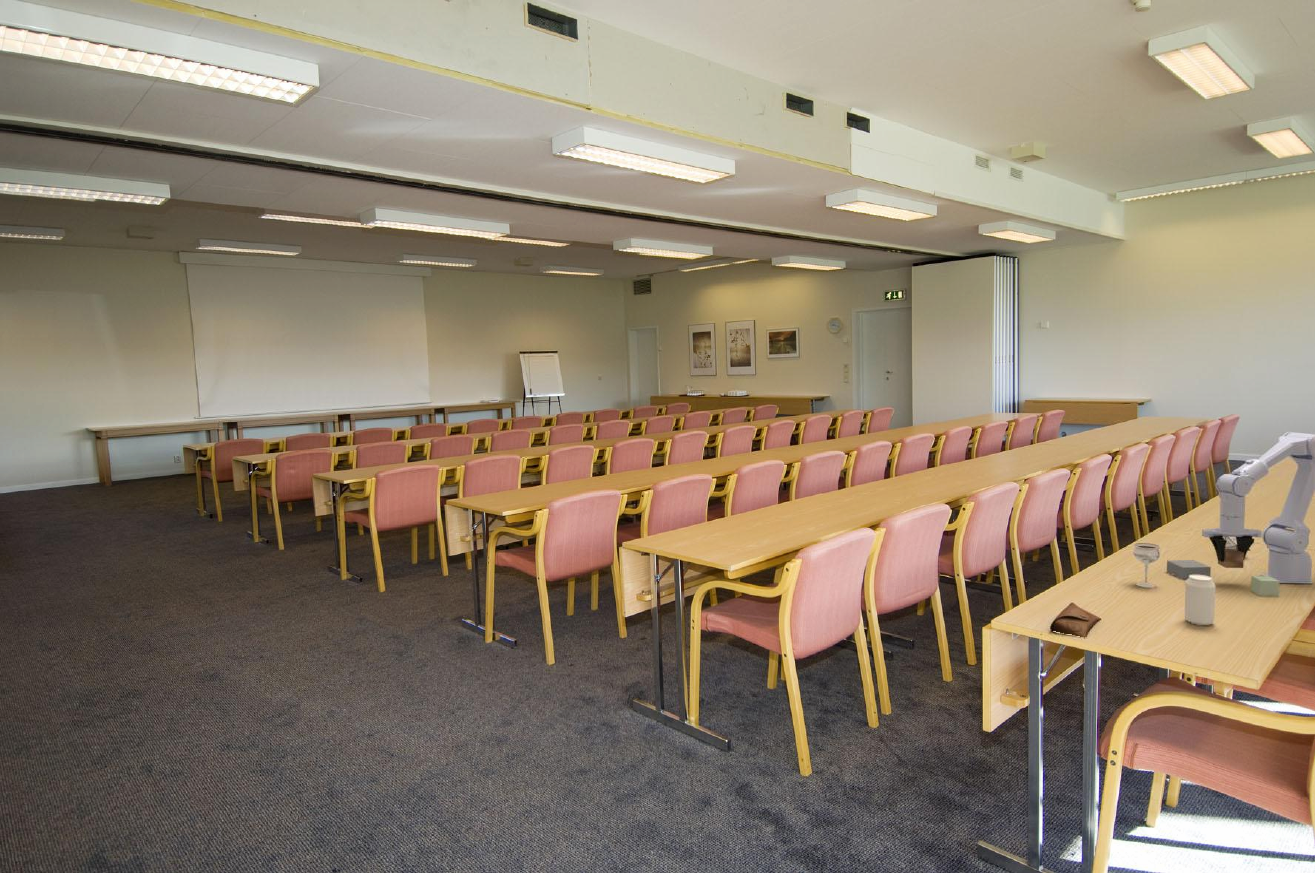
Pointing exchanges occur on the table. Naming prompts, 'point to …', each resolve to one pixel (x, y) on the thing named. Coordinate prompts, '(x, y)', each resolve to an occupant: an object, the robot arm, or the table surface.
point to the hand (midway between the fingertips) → (1230, 560)
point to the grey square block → (1187, 568)
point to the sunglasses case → (1074, 621)
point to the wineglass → (1146, 558)
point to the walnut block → (1232, 559)
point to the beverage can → (1200, 600)
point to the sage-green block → (1265, 586)
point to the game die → (1231, 543)
